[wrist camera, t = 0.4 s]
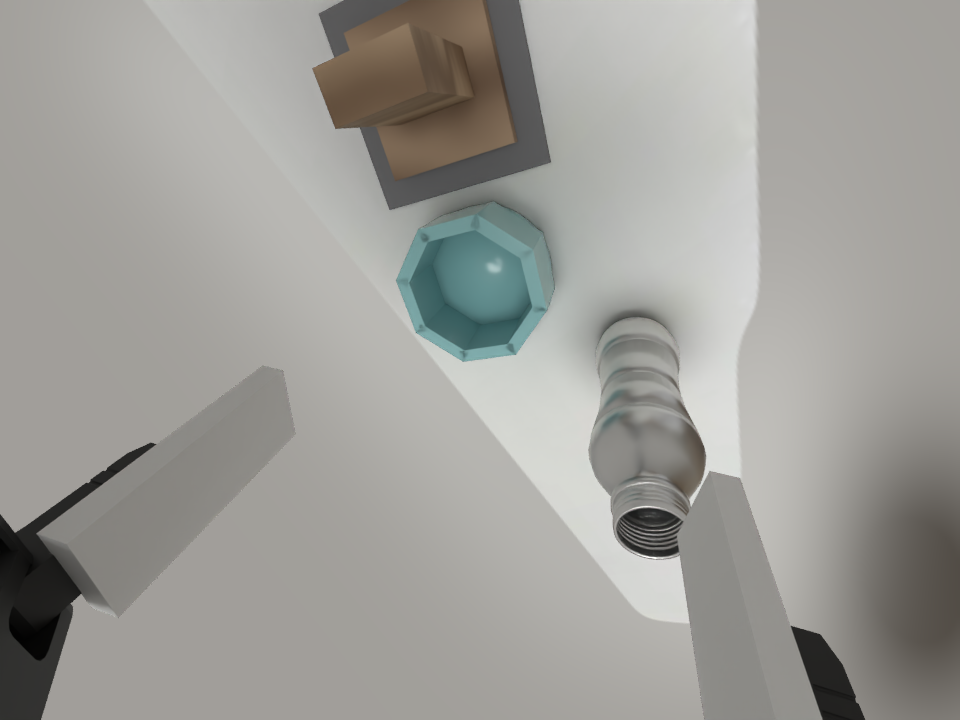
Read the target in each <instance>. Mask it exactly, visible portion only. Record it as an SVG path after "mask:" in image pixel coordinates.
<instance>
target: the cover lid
mask: <svg viewBox="0 0 960 720" xmlns="http://www.w3.org/2000/svg"><path fill="white" fill-rule="evenodd" d="M344 35H345V38H346V41H347V44H348V47H349V50H350V51H348V52H346V53H343V54H341V55H339V56H337V57H335V58H333V59H331V60H329V61H327V62H325V63H322V64H320V65H318V66H316V67H314V68H312V69H313V72H314V74H315V77H316V79H317V82H318V85H319V87H320V90H321V92H322V95H323V98H324V100H325V103H326V105H327V108H328V111H329V113H330V116H331V118H332V121H333V124H334V126H335V129H340V128H358V127H377V130H378V133H379V136H380V139H381V142H382V145H383V148H384V150H385V153H386V156H387V159H388V162H389V165H390V168H391V171H392V174H393V176H394V179H395V181H398V180H401V179H404V178H407V177H410V176H413V175H416V174H419V173H423V172H426V171H429V170H432V169H435V168H438V167H441V166H444V165H447V164H450V163H453V162H456V161H460V160H463V159H466V158H469V157H472V156H475V155H478V154H481V153H484V152H487V151H490V150H494V149H497V148H500V147H503V146H506V145H509V144H512V143H515V142H518V140H517V136H516V131H515V127H514V122H513V118H512V114H511V109H510V105H509V100H508V96H507V91H506V87H505V82H504V78H503V73H502V69H501V65H500V60H499V56H498V51H497V47H496V42H495V38H494V33H493V29H492V24H491V20H490V16H489V11H488V7H487V2H486V0H409V1H407V2H405V3H403V4H401V5H399V6H397V7H395V8H393V9H391V10H389V11H387V12H385V13H383V14H381V15H379V16H377V17H375V18H373V19H371V20H369V21H367V22H365V23H363V24H361V25H359V26H357V27H355V28H353V29H351V30H349V31H347V32H345V33H344Z"/></svg>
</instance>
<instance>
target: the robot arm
mask: <svg viewBox="0 0 960 720" xmlns="http://www.w3.org/2000/svg"><path fill="white" fill-rule="evenodd" d="M294 435H295V428H294V423H293V418H292V413H291V408H290V403H289V398H288V393H287V388H286V383H285V378H284V373H283V370H279V369H274V368H270V367H266V366H262V367H260V368H259V369H257V370H256V371H255V372H254V373H252V374H251V375H250V376H248V377H247V378H245V379H244V380H243V381H241V382H240V383H239V384H238V385H236V386H235V387H233V388H232V389H231V390H229V391H228V392H226V393H225V394H224V395H222V396H221V397H220V398H218V399H217V400H216V401H215V402H213V403H212V404H210V405H209V406H208V407H206V408H205V409H204V410H202V411H201V412H200V413H198V414H197V415H196V416H194V417H193V418H191V419H190V420H189V421H188V422H186V423H185V424H184V425H182V426H181V427H179V428H178V429H177V430H175V431H174V432H173V433H171V434H170V435H169V436H167V437H166V438H165V439H163V440H162V441H160V442H159V443H158V444H154V443H149V444H147V445H145V446H143V447H140V448H138V449H136V450H134V451H132V452H129V453H127V454H126V455H125V456H123V457H122V458H121V459H119V460H117V461H116V462H115V463H113V464H112V465H111V466H109V467H108V468H107V470H106V471H102V472H101V473H99V474H98V475H96V476H95V477H94V478H93V479H91V481H90V482H89V483H85V484H84V485H82V486H81V487H80V488H78V489H77V490H76V491H74V492H73V493H72V494H70V495H69V496H67V497H66V498H64V499H63V500H62V501H60V502H59V503H57V504H56V505H55V506H53V507H52V508H50V509H49V510H48V511H46V512H45V513H43V514H42V515H41V516H39V517H38V518H37V519H35V520H34V521H32V522H31V523H30V524H28V525H27V526H25V527H24V528H22V529H20V530H19V531H17V532H16V533H14V531H13V530H12V529H11V527H10V526H9V525H8V524H7V522H6V521H5V520H4V518H3V517H2V516H1V515H0V720H41V718H42V714H43V711H44V708H45V704H46V701H47V698H48V694H49V691H50V688H51V684H52V681H53V678H54V675H55V671H56V668H57V665H58V661H59V658H60V655H61V651H62V648H63V645H64V642H65V638H66V635H67V632H68V629H69V625H70V622H71V618H72V614H73V606H72V605H71V604H70V603H71V602H73V601H74V600H75V599H76V598H77V597H78V596H79V595H80V594H82V595H83V597H84V598H85V599H86V601H87V602H88V603H89V605H90V606H91V607H92V608H94V609H96V610H99V611H102V612H104V613H107V614H109V615H112V616H115V617H117V618H119V617H120V616H121V615H122V613H123V612H124V611H125V610H126V609H127V608H128V607H129V606H130V605H131V604H132V603H133V602H134V601H135V600H136V599H137V598H138V597H139V596H140V595H141V594H142V593H143V592H144V591H145V590H146V589H147V587H148V586H150V584H151V583H152V582H153V581H154V580H155V579H156V578H157V577H158V576H159V575H160V574H161V573H162V572H163V571H164V570H165V569H166V568H167V567H168V566H169V565H170V564H171V563H172V561H174V560H175V559H176V558H177V557H178V555H179V554H180V553H181V552H182V551H183V550H184V549H185V548H186V547H187V546H188V545H189V544H190V543H191V542H192V541H193V540H194V539H195V538H196V537H197V536H198V535H199V534H200V533H201V532H202V531H203V530H204V529H205V527H207V526H208V524H209V523H210V522H211V521H212V520H213V519H214V518H215V517H216V516H217V515H218V514H219V513H220V512H221V511H222V510H223V509H224V508H225V507H226V506H227V505H228V504H229V502H231V501H232V500H233V499H234V498H235V497H236V495H237V494H238V493H239V492H240V491H241V490H242V489H243V488H244V487H245V486H246V485H247V484H248V483H249V482H250V481H251V480H252V479H253V478H254V477H255V476H256V475H257V474H258V473H259V472H260V470H262V469H263V468H264V467H265V465H266V464H267V463H268V462H269V461H270V460H271V459H272V458H273V457H274V456H275V455H276V454H277V453H278V452H279V451H280V450H281V449H282V448H283V447H284V446H285V445H286V443H288V442H289V441H290V440H291V438H293V436H294ZM677 540H678V547H679V553H680V560H681V567H682V574H683V580H684V587H685V594H686V600H687V607H688V614H689V621H690V627H691V634H692V641H693V647H694V654H695V661H696V667H697V674H698V681H699V688H700V694H701V701H702V708H703V715H704V720H865V718H864V716H863V713H862V711H861V708H860V706H859V704H858V703H856V701H855V698H856V696H855V694H854V691H853V689H852V687H851V684H850V682H849V679H848V677H847V674H846V672H845V669H844V667H843V665H842V663H841V662H840V661H839V659H838V658H837V657H836V655H835V654H834V652H833V651H832V650H831V648H830V647H829V646H828V644H827V643H826V641H825V640H824V639H823V637H822V636H821V635H820V634H817V633H814V632H810V631H807V630H804V629H800V628H796V627H793V626H790V623H789V621H788V617H787V614H786V611H785V608H784V605H783V603H782V600H781V597H780V594H779V591H778V588H777V585H776V582H775V579H774V576H773V573H772V570H771V567H770V565H769V562H768V559H767V556H766V553H765V550H764V547H763V544H762V541H761V538H760V535H759V532H758V529H757V526H756V524H755V521H754V518H753V515H752V512H751V509H750V506H749V503H748V500H747V498H746V494H745V491H744V488H743V485H742V482H741V480H740V478H737V477H733V476H729V475H724V474H720V473H716V472H712V471H709V473H708V475H707V477H706V479H705V481H704V483H703V485H702V487H701V489H700V491H699V493H698V495H697V497H696V499H695V501H694V503H693V504H692V506H691V508H690V510H689V512H688V514H687V516H686V518H685V520H684V522H683V524H682V526H681V528H680V530H679V532H678V534H677Z"/></svg>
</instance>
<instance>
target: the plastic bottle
mask: <svg viewBox="0 0 960 720" xmlns="http://www.w3.org/2000/svg"><path fill="white" fill-rule="evenodd" d="M595 359H596V367H597V371H598V375H599V378H600V383H601V400H600V406H599V412H598V415H597V418H596V421H595V424H594V427H593V431H592V433H591V439H590V444H589V450H588V451H589V460H590V463H591V466H592V469H593V471H594V474H595V477H596V478H597V480H598V482H599V483H600V485H601V486H602V487H603V488H604V489H605V490H606V492H607V493H608V494H609V495H610V496H611V512H612V515H613V530H614V534H615V537H616V539H617V540H618V542H619V543H620V544H621V545H622V546H623V547H624V548H625V549H627V550H628V551H630V552H631V553H633V554H635V555H638V556H640V557H644V558H648V559H656V560H660V559H670V558H674V557H677V556H679V555H680V553H679V547H678V540H677V534H678V532H679V530H680V528H681V526H682V524H683V522H684V520H685V518H686V516H687V514H688V512H689V510H690V508H691V506H690V501H689V499H690V497H691V496H692V495H693V493H694V492H695V491H696V489H697V488H698V487H699V485H700V484H701V481H702V478H703V475H704V470H705V465H706V453H705V448H704V445H703V443H702V440H701V437H700V435H699V433H698V431H697V429H696V428H695V425H694V424H693V422H692V420H691V418H690V416H689V414H688V412H687V410H686V408H685V405H684V402H683V399H682V397H681V393H680V390H679V380H678V374H679V366H680V353H679V348H678V346H677V344H676V341H675V340H674V338H673V337H672V336H671V334H670V333H669V332H668V330H667V329H666V328H665V327H663V326H662V325H661V324H660V323H658V322H656V321H654V320H651V319H648V318H642V317H631V318H626V319H623V320H620V321H618V322H616V323H614V324H613V325H611V326H610V327H609V328H608V329H607V330H606V331H605V332H604V334H603V335H602V337H601V339H600V341H599V344H598V346H597V349H596V354H595Z"/></svg>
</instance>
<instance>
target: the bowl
mask: <svg viewBox="0 0 960 720" xmlns="http://www.w3.org/2000/svg"><path fill="white" fill-rule="evenodd" d="M396 281H397V284H398V287H399V289H400V292H401V294H402V297H403V300H404V302H405V305H406V308H407V310H408V313H409V315H410V318H411V321H412V323H413V326H414V329H415V331H416V333H417V334H419V335H421V336H422V337H424V338H426V339H427V340H429V341H430V342H432V343H434V344H435V345H437V346H439V347H440V348H442V349H443V350H445V351H447V352H448V353H450V354H452V355H453V356H455V357H456V358H458V359H460V360H461V361H463V362H464V361H472V360H479V359H487V358H494V357H501V356H509V355H516V353H517V352H518V351H519V349H520V348H521V346H522V345H523V344H524V342H525V341H526V339H527V338H528V337H529V335H530V334H531V332H532V331H533V330H534V328H535V327H536V325H537V324H538V322H539V321H540V320H541V318H542V317H543V315H544V314H545V313H546V311H547V310H548V307H549V304H550V301H551V298H552V295H553V292H554V289H555V285H554V281H553V276H552V263H551V257H550V253H549V250H548V247H547V245H546V243H545V240H544V235H543V232H541V231H540V230H538V229H536V227H535V226H534V225H533V224H532V223H531V222H530V221H529V220H528V219H526V218H525V217H523V216H522V215H521V214H519V213H517V212H515V211H513V210H511V209H508V208H506V207H502V206H500V205H499V204H497V203H495V202H494V201H493V202H489V203H486V204H482V205H475V206H470V207H467V208H465V209H462V210H460V211H457V212H453V213H450V214H446V215H442V216H440V217H438V218H437V219H435V220H433V221H432V222H430V223H428V224H426V225H425V226H423V227H421V228H420V229H418V231H417V233H416V236H415V238H414V240H413V243H412V245H411V247H410V250H409V252H408V254H407V256H406V259H405V261H404V263H403V266H402V268H401V270H400V273H399V275H398V277H397V280H396Z"/></svg>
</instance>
